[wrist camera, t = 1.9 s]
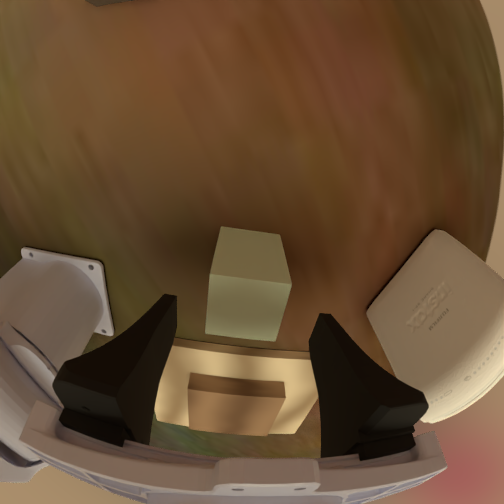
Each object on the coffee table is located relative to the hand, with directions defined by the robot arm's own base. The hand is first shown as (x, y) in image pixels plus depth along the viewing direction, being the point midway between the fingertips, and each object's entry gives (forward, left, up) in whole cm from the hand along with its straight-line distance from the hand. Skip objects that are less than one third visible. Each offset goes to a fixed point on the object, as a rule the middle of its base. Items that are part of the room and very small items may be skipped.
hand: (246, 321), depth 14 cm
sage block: (0, 0, -7) cm, 7 cm away
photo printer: (+14, 0, -7) cm, 16 cm away
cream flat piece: (+1, -17, -7) cm, 18 cm away
